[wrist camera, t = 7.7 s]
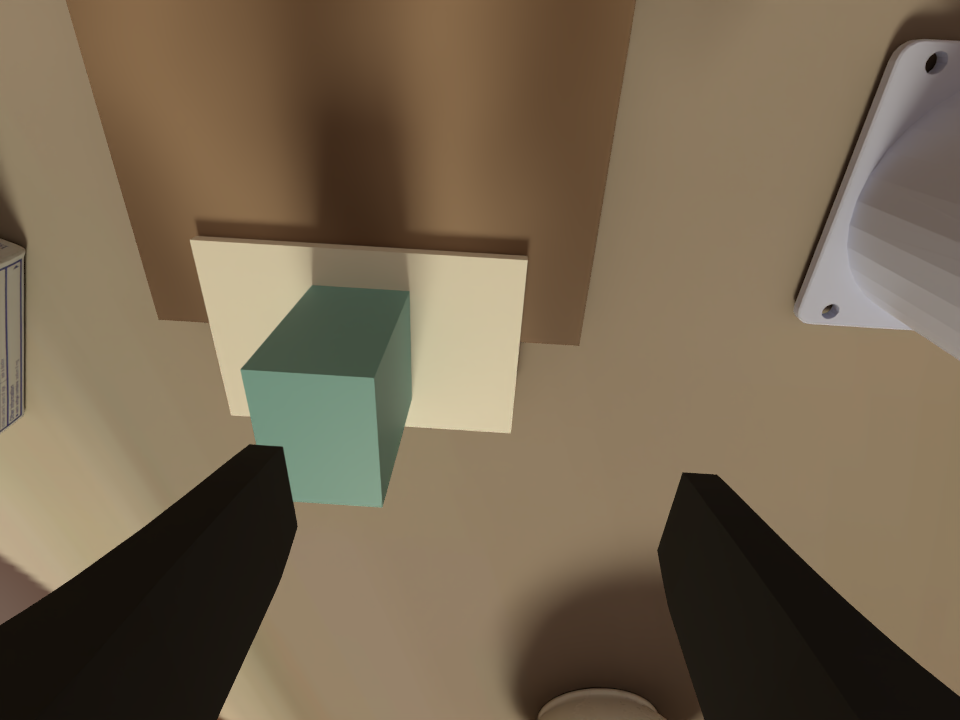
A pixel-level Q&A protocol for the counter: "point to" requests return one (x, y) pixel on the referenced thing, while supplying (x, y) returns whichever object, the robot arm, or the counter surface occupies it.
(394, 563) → the counter surface
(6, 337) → the medicine box
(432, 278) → the cream plaque with block
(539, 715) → the lidded bowl
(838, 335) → the counter surface
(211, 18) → the board
